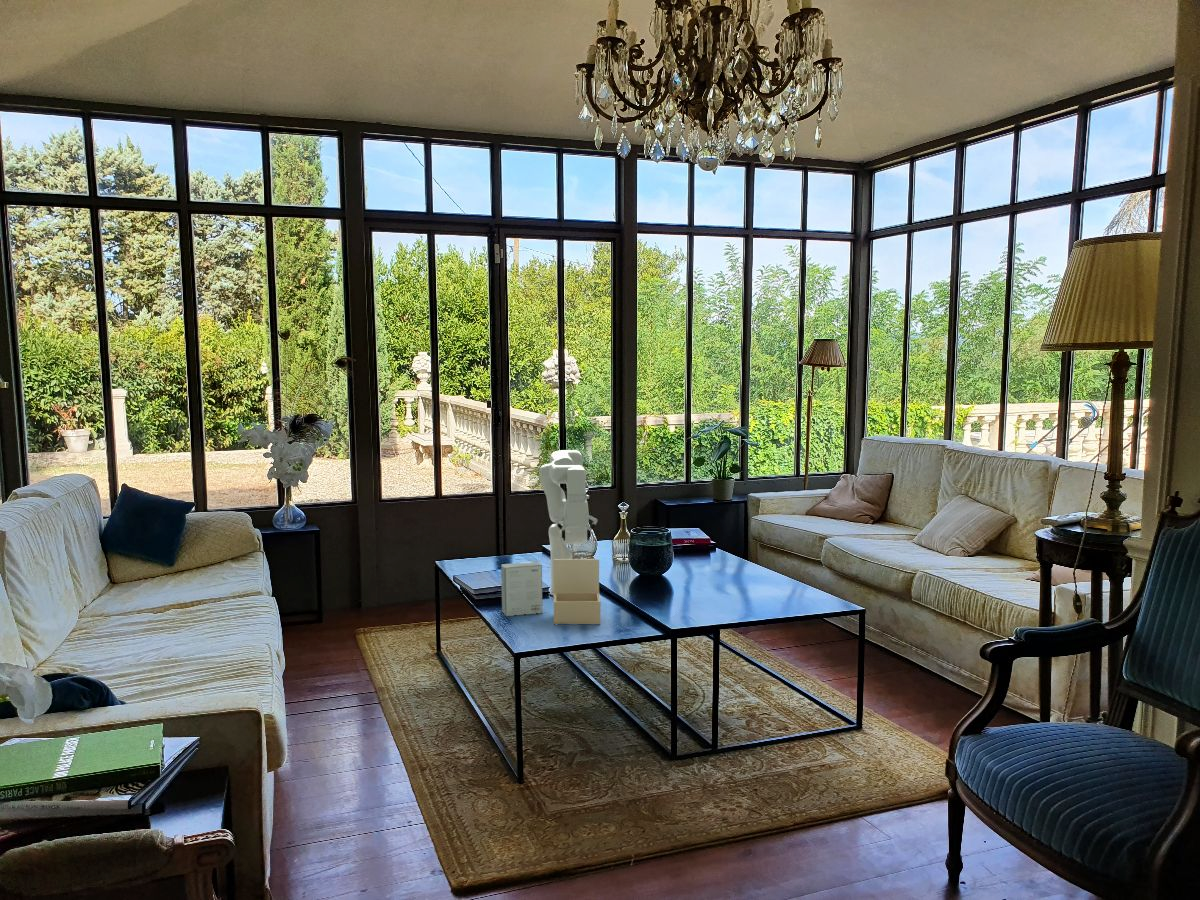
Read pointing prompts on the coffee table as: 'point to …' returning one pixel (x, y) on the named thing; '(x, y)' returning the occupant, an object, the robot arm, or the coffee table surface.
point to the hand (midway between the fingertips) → (576, 539)
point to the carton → (577, 608)
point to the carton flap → (576, 575)
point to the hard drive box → (521, 588)
